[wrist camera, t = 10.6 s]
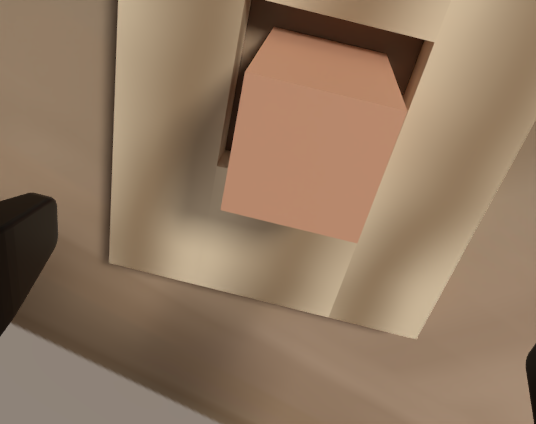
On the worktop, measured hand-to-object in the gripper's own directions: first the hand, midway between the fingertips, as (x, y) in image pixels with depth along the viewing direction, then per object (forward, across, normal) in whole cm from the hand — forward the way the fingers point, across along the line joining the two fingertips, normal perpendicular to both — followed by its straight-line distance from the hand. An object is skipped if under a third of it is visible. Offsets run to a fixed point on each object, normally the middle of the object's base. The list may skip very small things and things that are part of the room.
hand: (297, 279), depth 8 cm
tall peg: (+11, 0, 0) cm, 11 cm away
